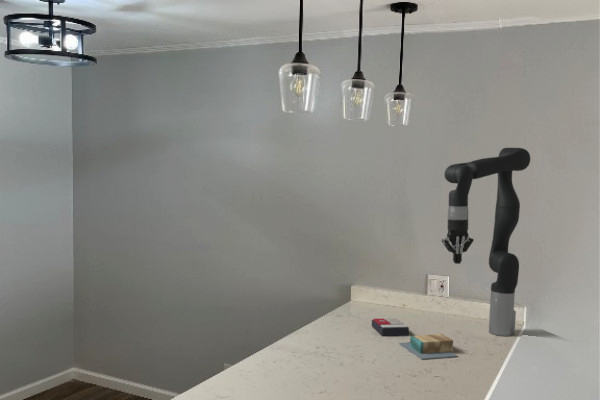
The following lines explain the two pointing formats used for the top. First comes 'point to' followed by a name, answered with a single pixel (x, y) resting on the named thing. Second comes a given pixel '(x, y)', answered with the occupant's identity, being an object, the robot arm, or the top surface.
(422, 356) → the mat
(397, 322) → the calculator
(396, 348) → the top surface
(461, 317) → the top surface
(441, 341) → the block
